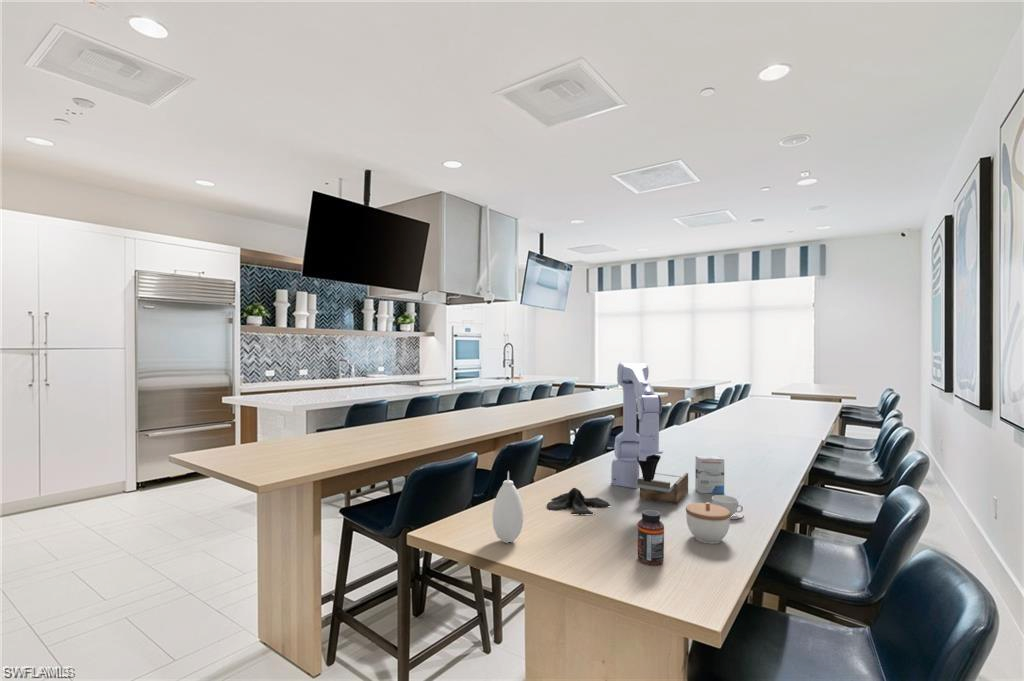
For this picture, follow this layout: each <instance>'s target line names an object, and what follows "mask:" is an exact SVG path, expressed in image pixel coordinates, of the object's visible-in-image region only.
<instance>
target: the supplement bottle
mask: <svg viewBox="0 0 1024 681" xmlns="http://www.w3.org/2000/svg"><path fill="white" fill-rule="evenodd" d="M637 559H638V561H639V562H640V563H642V564H644V565H647V564H648V566H661V565H662V564H663V563H664V560H665V524H664V523H663V521H661V513H660V512H659V511H658V510H653V509H645V510H643V511H642V512H641V519H640V520H638V522H637Z"/></svg>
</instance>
